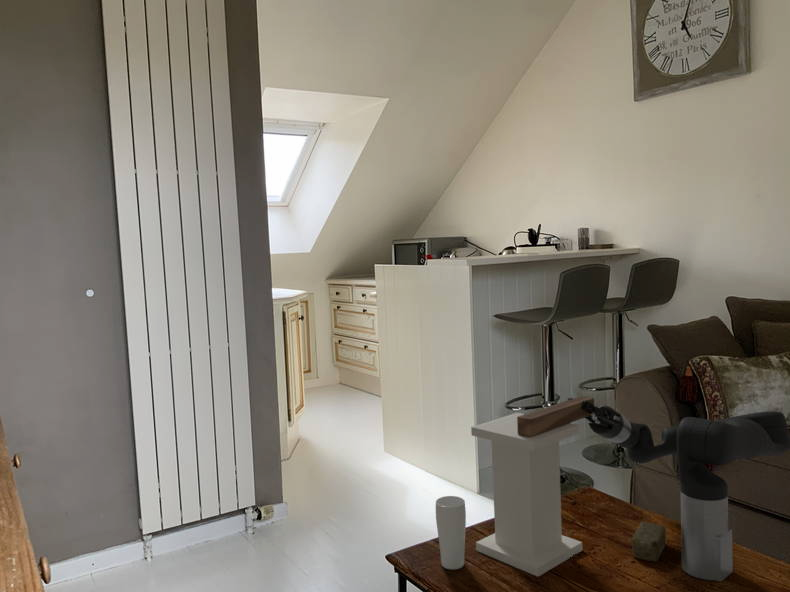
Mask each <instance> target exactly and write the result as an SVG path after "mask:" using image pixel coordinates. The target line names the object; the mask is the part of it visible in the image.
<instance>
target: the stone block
mask: <svg viewBox="0 0 790 592" xmlns="http://www.w3.org/2000/svg"><path fill="white" fill-rule="evenodd" d="M666 532H667V531H666V527H665V526H664V525H661V524H656V523H651V522H647V521H646V522H645V521H641V522H640V524H639V525H638V527H637V529H636V530H635V532H634V534H633V536H632V538H631V546H632V547H631V548H632V556H633V557H634V558H636V559H639V560H642V561H643V560H644V561H647V562H655V563H657V562H658V561H659V559H660V556H661V554H662V551H663V550H664V548H665V546H666V543H667V542H666V534H667V533H666Z"/></svg>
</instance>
